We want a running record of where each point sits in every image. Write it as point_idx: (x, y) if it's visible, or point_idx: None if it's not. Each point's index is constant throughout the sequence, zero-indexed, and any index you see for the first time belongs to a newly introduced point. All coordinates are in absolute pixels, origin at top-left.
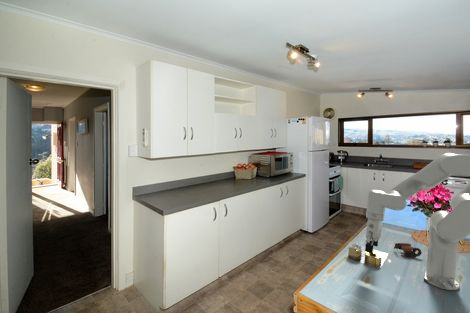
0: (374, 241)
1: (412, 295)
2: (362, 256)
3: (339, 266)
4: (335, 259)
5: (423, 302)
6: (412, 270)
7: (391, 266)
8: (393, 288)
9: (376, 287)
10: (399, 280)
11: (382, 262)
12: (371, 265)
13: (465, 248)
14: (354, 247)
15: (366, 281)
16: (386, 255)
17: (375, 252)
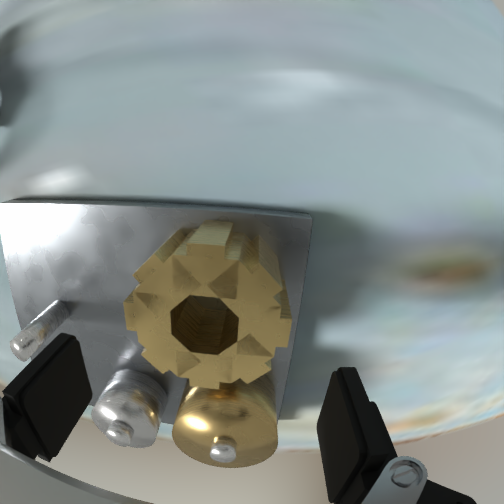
0: (56, 401)
1: (458, 34)
2: None
3: None
4: (301, 443)
5: (473, 6)
6: (107, 25)
7: (134, 145)
8: (463, 121)
9: (496, 214)
10: (341, 72)
11: (158, 215)
12: (288, 286)
13: None
14: (217, 459)
15: (468, 270)
16: (25, 210)
17: (133, 311)
